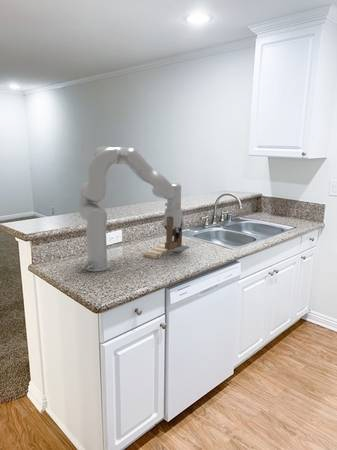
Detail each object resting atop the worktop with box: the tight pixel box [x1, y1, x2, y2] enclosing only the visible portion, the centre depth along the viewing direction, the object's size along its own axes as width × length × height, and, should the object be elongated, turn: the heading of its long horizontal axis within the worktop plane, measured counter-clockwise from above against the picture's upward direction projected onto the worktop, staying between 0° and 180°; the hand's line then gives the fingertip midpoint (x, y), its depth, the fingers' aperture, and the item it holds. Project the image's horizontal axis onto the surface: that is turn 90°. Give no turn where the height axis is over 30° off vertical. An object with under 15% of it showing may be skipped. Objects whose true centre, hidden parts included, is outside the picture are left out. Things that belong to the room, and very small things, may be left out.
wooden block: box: [164, 217, 183, 250], centre depth 193 cm, size 4×11×18 cm, turn 138°
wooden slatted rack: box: [142, 241, 176, 260], centre depth 199 cm, size 30×8×2 cm, turn 153°
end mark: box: [170, 245, 190, 254], centre depth 203 cm, size 14×6×1 cm, turn 153°
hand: (173, 237), depth 193 cm, fingers closed on wooden block, 4 cm apart
